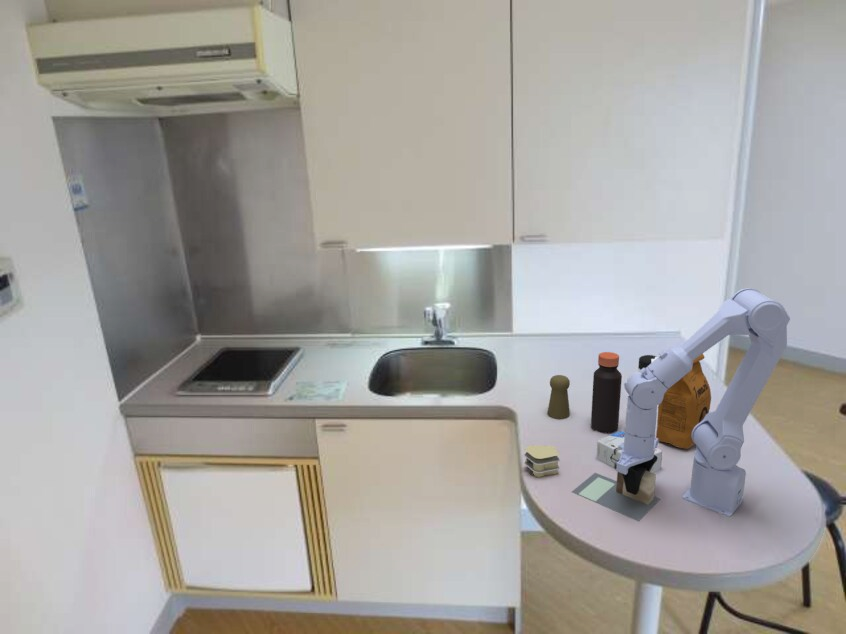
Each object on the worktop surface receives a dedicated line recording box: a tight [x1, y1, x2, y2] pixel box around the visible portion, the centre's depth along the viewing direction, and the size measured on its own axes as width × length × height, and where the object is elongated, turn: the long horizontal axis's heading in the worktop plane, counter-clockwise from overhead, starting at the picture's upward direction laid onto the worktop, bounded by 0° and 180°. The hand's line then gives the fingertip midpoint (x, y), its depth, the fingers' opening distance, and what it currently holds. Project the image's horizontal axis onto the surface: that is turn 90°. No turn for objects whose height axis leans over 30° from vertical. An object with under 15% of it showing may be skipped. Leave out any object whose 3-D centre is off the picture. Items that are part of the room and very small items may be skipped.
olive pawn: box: [546, 374, 571, 420], centre depth 160 cm, size 6×6×11 cm
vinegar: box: [590, 351, 623, 434], centre depth 150 cm, size 7×7×20 cm
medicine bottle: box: [634, 354, 659, 373], centre depth 168 cm, size 7×7×12 cm
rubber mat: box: [571, 472, 661, 522], centre depth 125 cm, size 15×10×1 cm, turn 45°
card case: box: [616, 471, 657, 505], centre depth 123 cm, size 7×3×6 cm, turn 45°
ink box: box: [596, 430, 663, 474], centre depth 136 cm, size 9×5×12 cm
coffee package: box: [655, 353, 712, 450], centre depth 143 cm, size 10×12×22 cm
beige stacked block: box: [524, 444, 561, 478], centre depth 134 cm, size 10×9×6 cm
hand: (635, 489), depth 124 cm, fingers closed on card case, 2 cm apart
